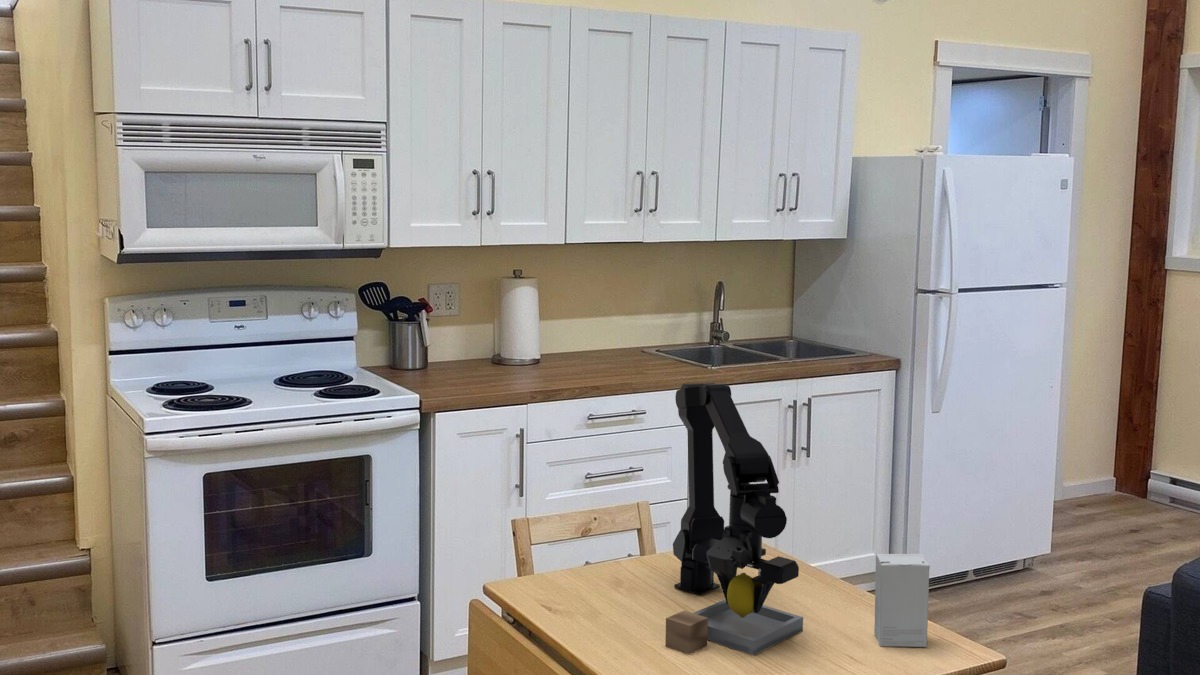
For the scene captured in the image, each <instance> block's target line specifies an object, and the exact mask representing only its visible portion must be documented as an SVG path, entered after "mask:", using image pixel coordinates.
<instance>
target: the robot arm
mask: <svg viewBox="0 0 1200 675" xmlns="http://www.w3.org/2000/svg"><path fill="white" fill-rule="evenodd" d="M675 404H676V407H677V409H678V410H677V411H678V412H677V413H678V417H679V419H680V420H681V422H682V423H683V425H684V427H685V428H686V430H687V464H688V468H687V469H688V470H687V471H688V472H687V473H688V507H687V509H686V511H685V512H684V514H683V516H682V517H681V519H680V530H679V532H678V533H677V535H676V537H675V539H674V541H673V543H672V550H673V551H672V552H673V555H674V557H676V559H678V560H679V561H680V562H681V563H680V564H681V565H680V577H679V581H680V582H678V583H676V584H674V588H675V589H678V590H682V591H683V592H684V591H685V592H688V593H692V594H694V595H697V596H703V595H705V594H707V593H710V592H712V591H715V590H717V589H719V588H720V587H721V590H722V593H723V595H724V600H726V603H727V604H728V602H727V590H728V586H729V583H730V581H731V580H732V579H733V578H734V577H735V576H737V575H738V574H737V573H738V569H740V570H743V569H744V568H746V567H747V568H750V569H754V570H757V571H758V572H757V575H756V576H754V577H752V578H751V580H752V582H753V583H754V586H755V587H754V612H755V613H758V612H759V611H760V609H761V607H762V605H764V603H765V601H766V599H767V597H768V595H769V594H770V591H771V589H772V588H773V586H774V585H775V584H776V585H782V584H784V583H787V582H790V581H791V580H794V579H796V578H798V577H799V572H800V569H799V564H798V563H797V561H796V560H795V559H794V560H793V559H789V558H787V557H783V556H780V555H779V556H775V557H773V558H772V559H771V558H770V559H764V558H762V557H763V556H766V554H767V548H763V538H764V539H773V538H776V537H778V536H780V534H782V533H783V531H784V530H785V529H786V526H787V521H788V518H787V515H786V512H785V511H784V509H783V508H782V507H781V506H780V505H778V504H777V497H776V496H774V495H771V494H778V493H779V492H780V491H779V486H778V485H779V484H780V481H779V478H778V475H777V472H776V469H775V467H774V463H773V460H772V458H771V456H770V455H769V453H768V451H767V450H766V448H765V447H764V445H763V443H761V442H760V440H757V439H756V438H754V437H752V436H751V435H750V434H749V432H748V429H747V428H746V425H745V423H744V421H743V419H742V417H741V415H740V413H739V411H738V409H737V407H736V404H735V402H734V400H733V398H732V390H731V387H730V385H729V384H725V383H715V382H701V383H700V382H696V383H694V382H693V383H692V382H691V383H683V384H681V386H680V389H677V390H676V392H675ZM714 428H715V431H716V433H717V435H718V438H719V439H720V441H721V443H722V446H723V449H724V450H723V451H724V455H723V456H724V457H723V460H722V465H723V473H724V476H725V479H726V481H727V490H730V492H729V493H730V494H729V514H728V515H729V516H728V518H729V519H728V523H729V524H728V525H727V526H725V520H724V518H723V516H721V515H720V513H719V512H718V511H717V509H716V508H715V489H714V488H715V485H714V482H715V481H714V442H713V441H714V440H713V430H714ZM765 482H766V483H765ZM714 575H716V577H717V579H718V581H719V583H716V582H714V580H715V579H714V578H715V576H714Z"/></svg>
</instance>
